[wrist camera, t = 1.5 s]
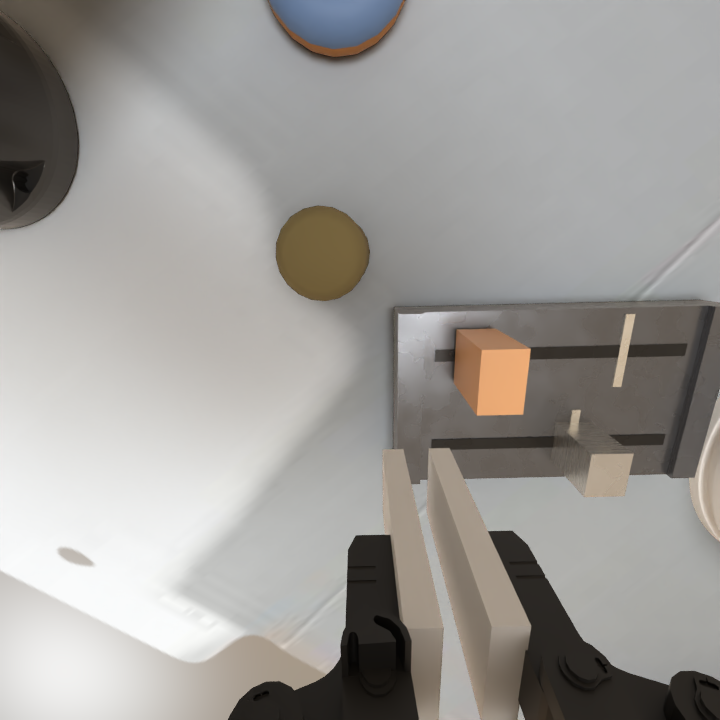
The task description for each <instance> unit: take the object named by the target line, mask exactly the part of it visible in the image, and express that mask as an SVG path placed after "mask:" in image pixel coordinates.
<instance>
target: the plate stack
mask: <svg viewBox="0 0 720 720" xmlns="http://www.w3.org/2000/svg"><path fill="white" fill-rule="evenodd" d="M689 486H690V494H691V499H692V503H693V506H694V509H695V511H696V513H697V515H698V517H699V519H700V521H701V522H702V524H703V525H704V527H705V528H706V529H707V530H708V531H709V533H710V534H711V535H712V536H713V537H714V538H716V539H717V540H718V541H719V542H720V397H719V398H718V400H717V401H716V403H715V406H714V410H713V414H712V417H711V421H710V424H709V428H708V431H707V435H706V439H705V442H704V446H703V449H702V453H701V456H700V460H699V464H698V467H697V471H696V474H695V478H689Z"/></svg>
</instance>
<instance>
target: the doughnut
mask: <svg viewBox="0 0 720 720" xmlns="http://www.w3.org/2000/svg"><path fill="white" fill-rule="evenodd" d="M268 2H269V4H270V7H271V9H272V11H273V14H274V15H275V17H276V18H277V20H278V21H279V22H280V23H281V25H282V26H283V27H284V28H285V30H286V31H287V32H288V33H289V35H290V36H291V37H292V38H293V39H294V40H296V41H297V42H299V43H300V44H302V45H303V46H305V47H306V48H308V49H309V50H311V51H312V52H315V53H320V54H324V55H328V56H332V57H339V56H347V55H354V54H358V53H360V52H361V51H363V50H365V49H367V48H369V47H371V46H372V45H374V44H376V43H377V42H378V41H379V40H380V39H381V38H382V37H383V36H384V35H385V34H386V33H387V31H388V30H389V29H390V28H391V27H392V26H393V25H394V23H395V21H396V19H397V17H398V15H399V13H400V11H401V9H402V7H403V4H404V2H405V0H268Z"/></svg>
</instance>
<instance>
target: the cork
mask: <svg viewBox="0 0 720 720" xmlns="http://www.w3.org/2000/svg"><path fill="white" fill-rule="evenodd" d="M369 254H370V250H369V245H368V240H367V238H366V236H365V234H364V232H363V230H362V229H361V228H360V227H359V226H358V225H357V224H356V223H355V222H354V221H353V220H352V219H351V218H350V217H349V216H348V215H347V214H345V213H343V212H341V211H339V210H337V209H335V208H333V207H325V206H314V207H309V208H305V209H302V210H301V211H299V212H298V213H296V214H294V215H293V216H291V217H290V218H289V220H288V221H287V222H286V223H285V225H284V226H283V227H282V228H281V231H280V234H279V237H278V239H277V242H276V260H277V264H278V268H279V271H280V273H281V275H282V277H283V278H284V280H285V281H286V283H287V284H288V285H289V286H290V287H291V288H292V289H293V290H294V291H296V292H297V293H298V294H300V295H302V296H304V297H306V298H309V299H311V300H320V301H328V300H333V299H337V298H340V297H342V296H343V295H345V294H347V293H348V292H350V291H351V290H352V289H353V288H354V287H355V286H356V285H357V283H358V282H359V281H360V279H361V277H362V276H363V274H364V272H365V270H366V268H367V266H368V263H369Z"/></svg>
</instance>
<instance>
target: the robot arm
mask: <svg viewBox="0 0 720 720" xmlns="http://www.w3.org/2000/svg"><path fill="white" fill-rule="evenodd" d="M77 153H78V138H77V128H76V122H75V117H74V113H73V109H72V105H71V102H70V99H69V97H68V94H67V91H66V89H65V87H64V85H63V82H62V80H61V78H60V76H59V75H58V73H57V71H56V69H55V68H54V66H53V64H52V63H51V61H50V60H49V58H48V57H47V55H46V54H45V53H44V52H43V50H42V49H41V48H40V46H39V45H38V44H37V43H36V42H35V41H34V40H33V38H32V37H31V36H30V35H29V34H28V33H27V32H26V31H25V30H24V29H22V28H21V27H20V26H19V25H18V24H17V23H15V22H14V21H13V20H12V19H10V18H9V17H8V16H6V15H5V14H3V13H2V12H0V229H12V228H18V227H23V226H26V225H29V224H31V223H34V222H36V221H38V220H40V219H41V218H43V217H44V216H46V215H47V214H49V213H50V212H51V211H52V210H53V209H54V208H55V207H56V206H57V205H58V204H59V202H60V201H61V200H62V199H63V197H64V196H65V194H66V192H67V190H68V188H69V186H70V184H71V181H72V179H73V176H74V172H75V168H76V162H77ZM427 515H428V519H429V523H430V527H431V530H432V534H433V538H434V542H435V546H436V550H437V553H438V557H439V561H440V565H441V569H442V573H443V576H444V580H445V584H446V588H447V592H448V596H449V600H450V603H451V607H452V611H453V615H454V619H455V623H456V626H457V630H458V634H459V638H460V642H461V646H462V649H463V653H464V657H465V661H466V665H467V669H468V672H469V676H470V680H471V684H472V688H473V692H474V695H475V699H476V703H477V707H478V711H479V715H480V719H481V720H517V718H518V711H519V704H520V706H521V709H522V712H523V715H524V717H525V720H720V681H718V680H716V679H715V678H713V677H711V676H708V675H705V674H702V673H699V672H696V671H680V672H679V673H677V674H676V675H674V676H673V677H672V678H671V682H670V685H666V684H663V683H659V682H656V681H653V680H650V679H646V678H643V677H640V676H636V675H633V674H630V673H627V672H625V671H622V670H620V669H618V668H616V667H614V666H612V665H611V664H610V662H609V661H608V660H607V658H606V657H605V656H604V655H603V654H601V653H600V652H599V651H598V650H597V649H595V648H594V647H593V646H592V645H590V644H588V643H586V642H584V641H583V639H582V638H581V637H580V635H579V634H578V632H577V630H576V629H575V627H574V625H573V623H572V622H571V620H570V618H569V616H568V615H567V613H566V611H565V609H564V608H563V606H562V604H561V602H560V601H559V599H558V597H557V595H556V594H555V592H554V590H553V588H552V587H551V585H550V583H549V581H548V580H547V579H546V578H545V574H544V573H543V571H542V569H541V567H540V566H539V564H537V560H536V559H535V557H534V555H533V553H532V552H531V550H530V548H529V547H528V545H527V544H526V543H525V542H524V541H523V540H522V539H521V538H520V537H518V536H517V535H516V534H515V533H514V532H513V531H487V528H486V526H485V524H484V522H483V520H482V518H481V515H480V513H479V511H478V509H477V507H476V504H475V502H474V500H473V498H472V496H471V494H470V491H469V489H468V487H467V485H466V483H465V481H464V478H463V476H462V474H461V472H460V470H459V467H458V465H457V463H456V461H455V459H454V457H453V454H452V452H451V450H450V448H429V454H428V483H427ZM383 519H384V529H385V535H356V536H355V538H354V540H353V542H352V544H351V546H350V547H349V549H348V570H347V600H346V628H345V629H344V631H343V635H342V640H341V657H340V660H339V661H338V663H337V664H336V666H335V667H334V668H333V669H332V670H331V671H330V672H329V673H328V674H327V675H326V676H325V677H323V678H321V679H320V680H318V681H316V682H314V683H311V684H309V685H307V686H304V687H302V688H299V689H297V690H295V691H294V690H293V689H292V687H290V686H288V685H286V684H284V683H281V682H279V681H278V682H264V683H262V684H260V685H258V686H256V687H253V688H252V689H251V690H250V691H248V692H247V693H246V694H245V695H244V696H243V697H242V698H241V699H240V700H239V701H238V703H237V705H236V706H235V708H234V709H233V711H232V713H231V714H230V716H229V718H228V720H438V718H439V700H440V683H441V666H442V649H443V631H444V627H443V623H442V618H441V614H440V609H439V605H438V600H437V596H436V592H435V587H434V583H433V578H432V574H431V569H430V565H429V561H428V556H427V552H426V547H425V543H424V538H423V534H422V530H421V525H420V521H419V516H418V512H417V507H416V503H415V498H414V494H413V490H412V485H411V481H410V476H409V472H408V467H407V463H406V459H405V454H404V450H403V449H384V450H383Z"/></svg>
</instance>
